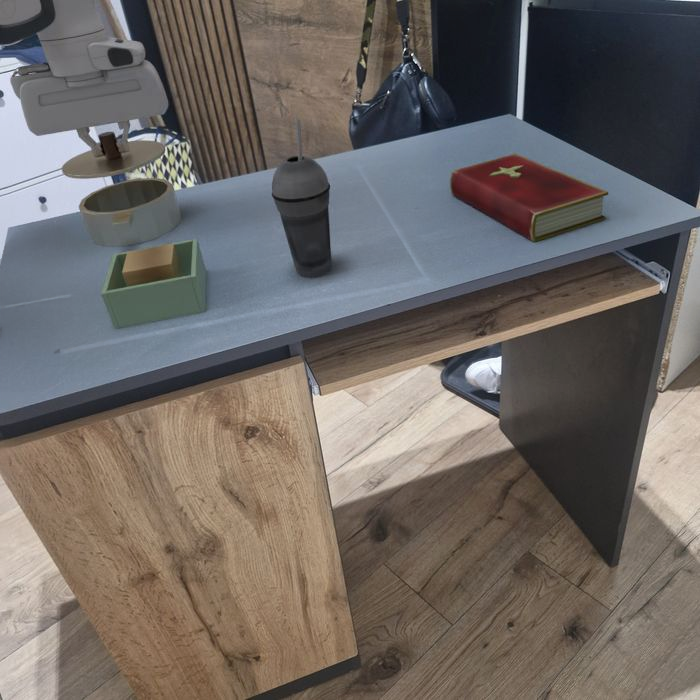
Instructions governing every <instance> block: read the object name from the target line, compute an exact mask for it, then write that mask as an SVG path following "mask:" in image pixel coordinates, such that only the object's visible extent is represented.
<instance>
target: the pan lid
mask: <svg viewBox="0 0 700 700" xmlns="http://www.w3.org/2000/svg"><path fill="white" fill-rule="evenodd" d="M97 136H98V139H99V140H98V141H99V142H100V143H101V146H102V149H103V152H104V155H105V156H101V157H96V158H95V157H94V155H93V152H92V150H91V149H89V150H87V151H85V152H81V153H80V154H78V155H76V156H74V157H71V158H70V159H68V160H67V161H66V162H64V163H63V164H62V166H61V172H62V174H63V176H65V177H67V178H71V179H80V180H81V179H82V180H85V179H86V180H89V179H98V178H99V179H100V178H108V177H113V176H118V175H122V174H126V173H129V172H132V171H136V170H138V169H140V168H143V167H145V166H148V165H150V164H152V163H154V162H156V161H157V160H159V159H160V158H161V157H163V156H164V155H165V153H166V147H165V145H164V143H162V142H159V141H155V140H147V139H146V140H145V139H144V140H130V141H129V140H128V143H129V146H130V151H129V152H125V153H119V150H118V149H119V148H118V147H117V144H116V141H117V136H116V134H115V131H105V132H101V133H99V134H98V135H97Z"/></svg>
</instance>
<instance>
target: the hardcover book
mask: <svg viewBox="0 0 700 700" xmlns="http://www.w3.org/2000/svg"><path fill="white" fill-rule="evenodd" d="M449 185H450V186H449V187H450V192H451V194H452V196H454V197H455V198H457V199H459V200H461V201H462V202H464V203H466V204H468V205H469V206H471V207H472V208H474V207H475V209H476V210H478V211H479V212H481V213H483V214H485V215H486V216H488V217H490V218H492V219H493V220H495V221H497V222H499V223H500V224H502V225H504V226H505V227H507V228H509V229H511V230H512V231H514V232H516V233H518V234H519V235H521V236H523V237H524V238H527V239H528V240H530V241H532V242H534V243H537V242H539V241H542V240H545V239H548V238H552V237H556V236H559V235H561V234H565V233H567V232H568V233H569V232H570V231H573V230H576V229H579V228H584V227H586V226H588V225H589V226H590V225H593V224H595V223H599V222H601V221H604V220H606V216H605V215H603V214H602V213H603V206H604V205H603V204H604V197H606V196H609V191H607V190H606V189H605V190H604V189H602V188H600V187H597V186H595V185H592V184H591V183H588V182H585V181H583V180H580V179H578V178H576V177H573V176H571V175H569V174H566V173H563V172H561V171H560V170H556V169H554V168H552V167H550V166H546V165H544V164H543V163H541V162H540V163H539V162H538V161H535V160H532V159H530V158H528V157H525V156H523V155H521V154H518V153H516V152H515V153H511V154H508V155H504V156H501V157H497V158H494V159H490V160H486V161H482V162H479V163H475V164H472V165H469V166H465V167H461V168H457V169H454V170H451V172H450V178H449Z"/></svg>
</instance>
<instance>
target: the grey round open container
mask: <svg viewBox="0 0 700 700" xmlns="http://www.w3.org/2000/svg"><path fill="white" fill-rule="evenodd" d="M78 210H79V213H80V214H81V217H82V220H83V223H84V226H85V228H86V231H87V234H88V236H89V239H90V240H91V241H92V243H94V245H98V246H101V247H105V248H116V247H117V248H118V247H119V248H120V247H121V248H122V247H127V246H133V245H139V244H143V243H146V242H149V241H152V240H155V239H158V238H161V237H162V236H165V235H166V234H168V233H170V232H172V231H173V230H174V229H175V228H176V227H177V226H178V225H179V224H181V222H182V212H181V209H180V205H179V201H178V198H177V195H176V191H175V187H174V185H173V183H172V182H170V180H167V179H165V178H159V177H146V178H145V177H144V178H143V177H142V178H141V177H138V178H132V179H131V178H130V179H126V180H124V181H123V180H122V181H120V182H116V183H113V184H110V185H106V186H103V187H101V188H99V189H97V190H94V191H92V192H91V193H89V194H88V195H86V196H84V198H82V199H81V200H80V202H79V205H78Z"/></svg>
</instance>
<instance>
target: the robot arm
mask: <svg viewBox="0 0 700 700" xmlns="http://www.w3.org/2000/svg"><path fill="white" fill-rule="evenodd" d="M95 1H96V0H0V47H7V46H12V45H15V44H18V43H19V42H21V41H23V40H24V39H27V38H29V37H32V36H34V35H37V37H38V40H39V42H40V45H41V47H42V51H43V53H44V56H45V59H46V61H45V62H40V63H39V62H38V63H35V64H32V65H21V66H17V67H16V69H15V70H14V71H13V72H12V73H11V75H10V78H9V81H10V85H11V87H12V90H13V92H14V95H15V96H16V97H17V98H18V99H19V100H20V105H21V109H22V114H23V116H24V120H25V123H26V125H27V129H28V130H29V132H30V133H32V134H33V135H34V136H37V137H42V136H46V135H52V134H59V133H64V132H70V131H71V132H72V131H76V133H77V136H78V138H79V139H81V141H83V142H84V143H85V144H86V145H87V146H88V147H89V148H90V150H92V152H93V155H94V157H95V158H96V157H101V156H105V155H104V152H103V149H102V146H101V143H100V141H99V142H96V140H95V139H93V138H92V136H90V134H89V133H90V132H91V129H90V128H93V127H99V126H105V125H110V124H116V123H117V127H118V128H119V130H120V131H121V130H123V131H122V135H121V138H116V140H117V141H116V144H117V147H118V148H119V149H118V150H119V153H125V152H129V151H130V146H129V143H128V142H129V139H128V137H129V132H130V128H131V122H130V121H135V120H140V119H145V118H152V117H157V116H158V117H159V116H162V115H165V114H166V112H167V111H168V108H169V99H168V96H167V94H166V93H167V92H166V90H165V87H164V84H163V82H162V79H161V78H160V75H159V73H158V71H157V69H156V68H155V66H154V65H153V64H152V63H151V61H149V60H147V59H145V58H146V49H145V45H144V44H143V43H142V42H141V41H137V40H131V39H124V38H119V37H113V36H108V33H107V30H106V26H105V25H104V22H103V21H102V19H101V18H100V16H99V14H98V11H97V7H96V3H95Z"/></svg>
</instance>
